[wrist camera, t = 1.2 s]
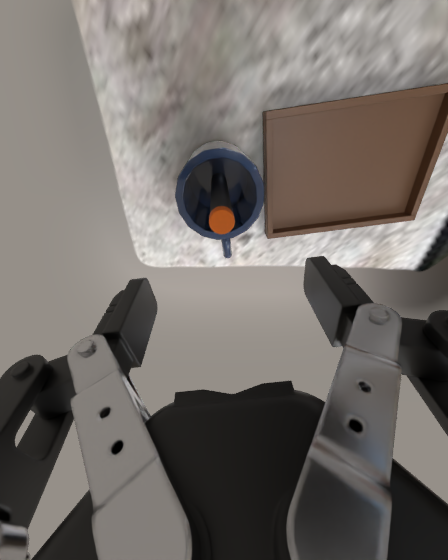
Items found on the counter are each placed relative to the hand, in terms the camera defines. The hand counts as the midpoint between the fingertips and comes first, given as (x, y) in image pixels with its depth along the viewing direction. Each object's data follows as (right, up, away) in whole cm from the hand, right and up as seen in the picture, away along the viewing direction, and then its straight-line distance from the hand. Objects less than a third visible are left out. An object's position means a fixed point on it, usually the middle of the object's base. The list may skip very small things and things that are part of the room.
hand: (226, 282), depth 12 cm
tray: (+16, +15, +19) cm, 29 cm away
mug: (-1, +12, +20) cm, 24 cm away
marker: (-1, +14, +19) cm, 23 cm away
